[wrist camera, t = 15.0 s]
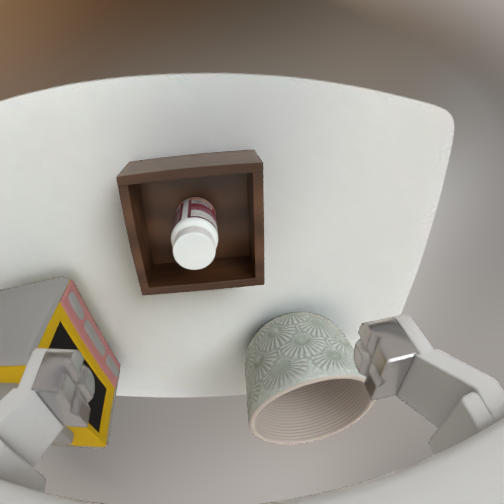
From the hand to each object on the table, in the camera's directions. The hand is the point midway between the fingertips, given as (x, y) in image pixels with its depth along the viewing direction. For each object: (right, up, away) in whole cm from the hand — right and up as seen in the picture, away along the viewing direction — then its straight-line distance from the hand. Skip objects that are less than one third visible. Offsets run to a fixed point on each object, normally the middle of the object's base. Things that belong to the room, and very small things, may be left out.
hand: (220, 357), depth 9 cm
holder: (-6, +7, +29) cm, 30 cm away
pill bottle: (-6, +7, +28) cm, 30 cm away
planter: (+7, -10, +41) cm, 43 cm away
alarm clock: (-29, -8, +35) cm, 46 cm away
